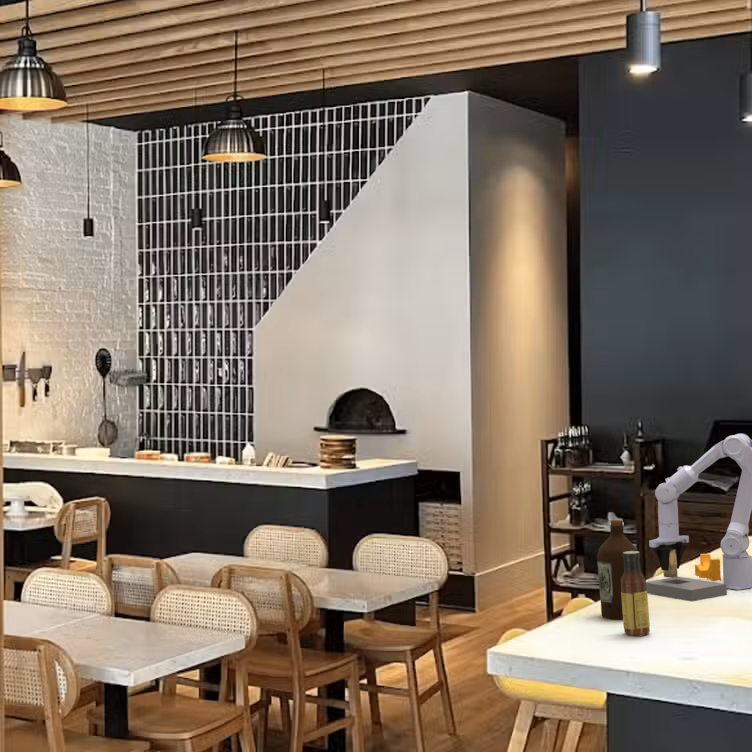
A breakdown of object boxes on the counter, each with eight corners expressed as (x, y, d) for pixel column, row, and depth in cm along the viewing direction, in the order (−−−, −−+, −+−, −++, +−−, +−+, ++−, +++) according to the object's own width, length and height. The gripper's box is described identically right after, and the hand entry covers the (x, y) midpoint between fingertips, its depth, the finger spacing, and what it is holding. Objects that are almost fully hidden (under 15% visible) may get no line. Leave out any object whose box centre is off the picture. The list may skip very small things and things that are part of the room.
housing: (678, 586, 364) (678, 576, 364) (726, 594, 349) (726, 583, 349) (643, 592, 356) (643, 582, 356) (691, 601, 341) (691, 590, 341)
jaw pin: (670, 574, 372) (669, 547, 372) (680, 576, 369) (679, 549, 369) (660, 576, 370) (659, 549, 370) (670, 577, 366) (669, 550, 367)
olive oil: (628, 611, 330) (625, 516, 330) (648, 618, 320) (645, 520, 320) (591, 614, 327) (588, 519, 327) (611, 622, 317) (607, 523, 317)
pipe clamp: (695, 575, 384) (694, 554, 384) (709, 574, 384) (708, 553, 384) (706, 581, 372) (705, 560, 372) (720, 581, 372) (719, 559, 372)
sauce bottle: (651, 631, 304) (648, 550, 304) (648, 637, 298) (645, 553, 298) (624, 630, 306) (621, 549, 306) (620, 636, 300) (617, 553, 300)
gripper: (675, 519, 377) (677, 565, 377) (641, 524, 369) (642, 570, 369) (693, 521, 371) (695, 567, 371) (658, 526, 363) (660, 573, 363)
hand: (670, 569), depth 369 cm, fingers closed on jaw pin, 4 cm apart
